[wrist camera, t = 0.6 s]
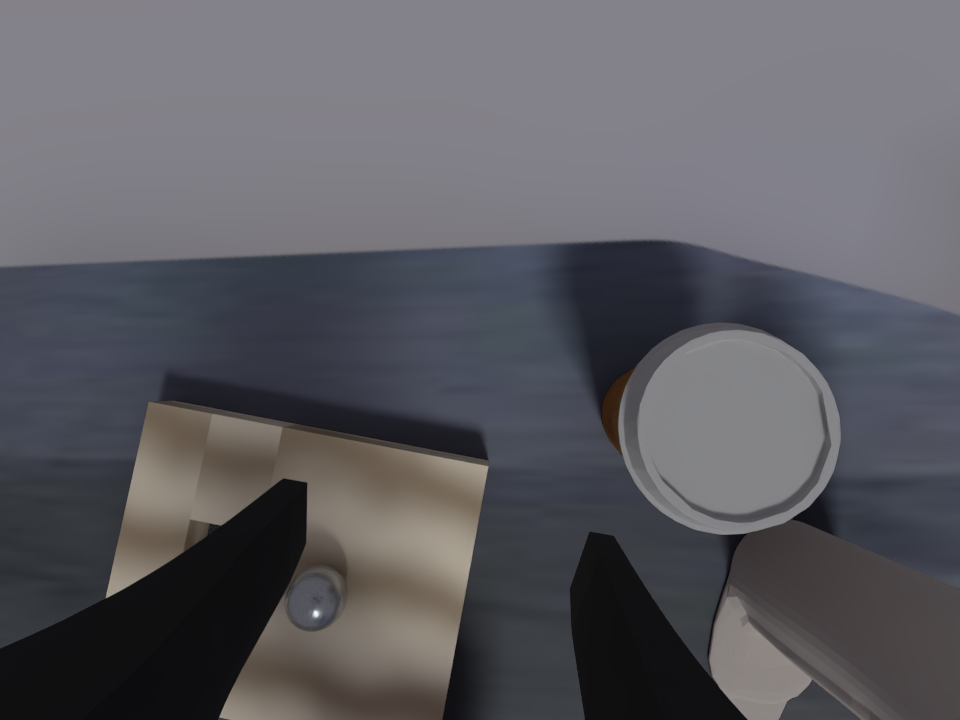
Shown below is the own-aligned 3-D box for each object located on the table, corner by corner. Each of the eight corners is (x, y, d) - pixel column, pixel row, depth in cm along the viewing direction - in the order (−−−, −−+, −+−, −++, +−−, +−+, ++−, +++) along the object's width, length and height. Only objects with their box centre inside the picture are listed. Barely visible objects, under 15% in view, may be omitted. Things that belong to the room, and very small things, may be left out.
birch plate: (439, 733, 32) (434, 763, 29) (116, 665, 33) (85, 688, 30) (488, 460, 33) (488, 466, 30) (174, 400, 34) (148, 401, 31)
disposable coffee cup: (689, 508, 32) (806, 579, 20) (555, 452, 33) (592, 490, 21) (741, 375, 33) (885, 368, 21) (608, 322, 33) (673, 285, 21)
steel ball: (348, 619, 30) (329, 649, 26) (293, 608, 30) (267, 637, 27) (359, 562, 30) (342, 585, 27) (305, 551, 30) (280, 572, 27)
